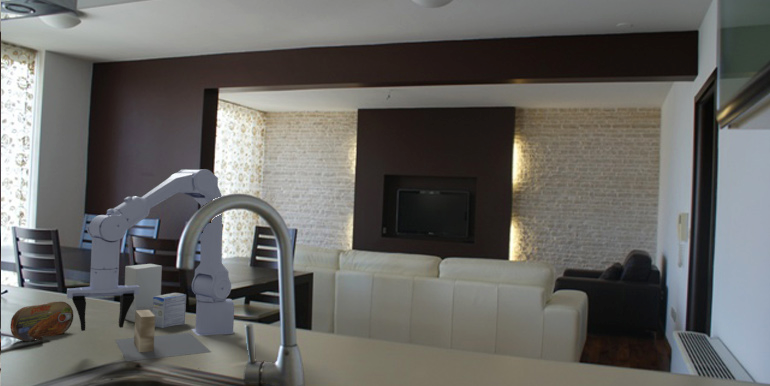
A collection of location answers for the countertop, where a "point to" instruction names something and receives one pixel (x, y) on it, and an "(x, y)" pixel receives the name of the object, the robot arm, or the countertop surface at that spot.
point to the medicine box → (169, 309)
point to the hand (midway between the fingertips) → (102, 328)
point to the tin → (41, 320)
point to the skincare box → (143, 286)
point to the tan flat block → (144, 330)
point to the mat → (163, 347)
